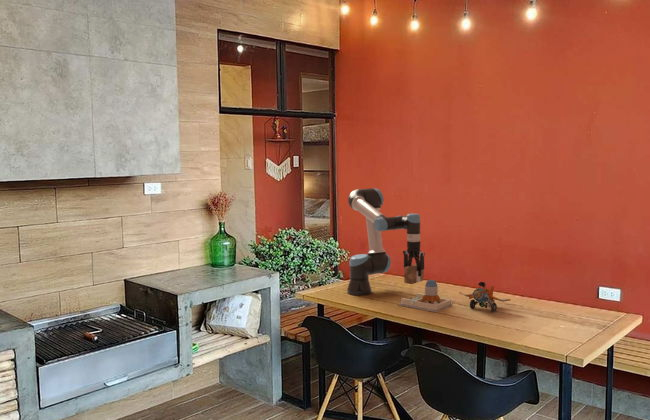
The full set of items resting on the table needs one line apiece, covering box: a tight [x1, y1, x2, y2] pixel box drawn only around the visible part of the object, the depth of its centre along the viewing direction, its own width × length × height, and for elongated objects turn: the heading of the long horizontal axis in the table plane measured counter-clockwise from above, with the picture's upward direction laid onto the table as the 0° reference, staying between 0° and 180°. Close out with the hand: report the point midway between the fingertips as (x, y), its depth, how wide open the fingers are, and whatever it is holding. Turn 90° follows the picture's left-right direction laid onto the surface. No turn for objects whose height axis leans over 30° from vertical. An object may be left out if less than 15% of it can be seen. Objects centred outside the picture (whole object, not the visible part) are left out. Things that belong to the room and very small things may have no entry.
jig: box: [398, 292, 453, 313], centre depth 330 cm, size 24×18×4 cm
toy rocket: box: [422, 279, 441, 304], centre depth 326 cm, size 10×11×15 cm
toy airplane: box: [458, 281, 512, 313], centre depth 318 cm, size 29×23×15 cm
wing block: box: [403, 263, 425, 285], centre depth 334 cm, size 5×12×9 cm, turn 137°
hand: (414, 281), depth 334 cm, fingers closed on wing block, 5 cm apart
